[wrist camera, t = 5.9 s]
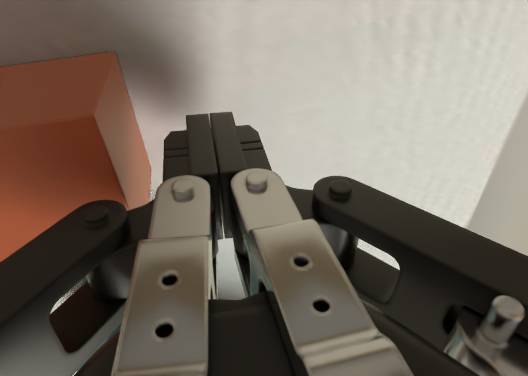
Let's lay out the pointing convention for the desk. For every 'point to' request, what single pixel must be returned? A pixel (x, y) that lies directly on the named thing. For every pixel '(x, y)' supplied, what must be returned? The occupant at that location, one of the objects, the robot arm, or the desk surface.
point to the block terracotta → (65, 144)
